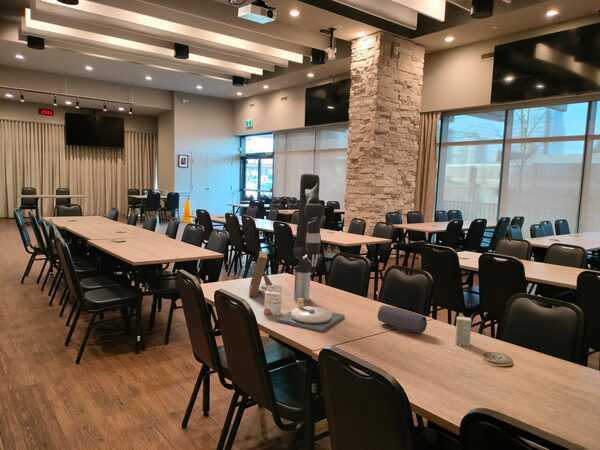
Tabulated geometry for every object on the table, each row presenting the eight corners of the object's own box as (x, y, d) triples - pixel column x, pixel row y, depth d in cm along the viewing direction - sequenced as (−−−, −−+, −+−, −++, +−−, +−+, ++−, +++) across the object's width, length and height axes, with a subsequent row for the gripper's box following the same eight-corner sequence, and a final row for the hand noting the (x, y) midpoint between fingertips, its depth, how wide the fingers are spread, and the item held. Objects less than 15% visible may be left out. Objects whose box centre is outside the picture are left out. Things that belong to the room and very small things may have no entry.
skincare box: (469, 343, 191) (471, 317, 190) (469, 347, 187) (472, 320, 186) (454, 341, 193) (456, 315, 192) (454, 344, 189) (457, 318, 188)
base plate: (301, 308, 233) (301, 304, 233) (344, 317, 220) (344, 313, 220) (276, 321, 210) (276, 317, 210) (322, 332, 198) (322, 327, 198)
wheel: (285, 311, 222) (286, 298, 221) (322, 308, 229) (323, 296, 228) (298, 324, 202) (299, 310, 201) (338, 321, 209) (339, 307, 208)
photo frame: (249, 297, 252) (250, 256, 249) (249, 287, 273) (251, 250, 271) (273, 297, 253) (275, 257, 251) (272, 288, 275) (274, 251, 272)
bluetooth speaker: (426, 333, 202) (428, 313, 201) (417, 338, 196) (419, 317, 195) (386, 321, 218) (387, 302, 217) (376, 325, 211) (377, 306, 210)
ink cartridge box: (263, 314, 221) (264, 287, 220) (265, 311, 226) (266, 284, 225) (279, 315, 221) (280, 288, 219) (281, 312, 226) (282, 285, 224)
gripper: (318, 239, 229) (317, 270, 231) (299, 241, 221) (298, 273, 223) (327, 241, 223) (326, 273, 225) (307, 243, 215) (306, 276, 217)
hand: (312, 273), depth 224 cm, fingers closed
